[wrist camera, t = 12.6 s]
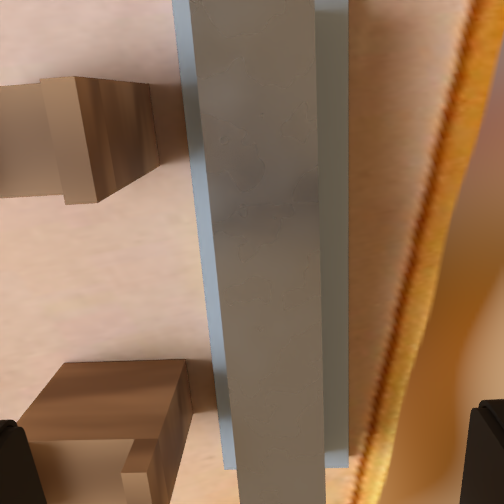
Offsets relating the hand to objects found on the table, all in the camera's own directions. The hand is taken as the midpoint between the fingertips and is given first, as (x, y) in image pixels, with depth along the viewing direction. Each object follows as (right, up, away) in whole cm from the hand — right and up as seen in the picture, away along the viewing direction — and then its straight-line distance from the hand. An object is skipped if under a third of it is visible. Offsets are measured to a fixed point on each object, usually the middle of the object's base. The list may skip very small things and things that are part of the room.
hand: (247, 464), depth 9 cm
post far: (-7, -3, +16) cm, 17 cm away
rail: (+1, +4, +12) cm, 13 cm away
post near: (-8, +10, +11) cm, 17 cm away
